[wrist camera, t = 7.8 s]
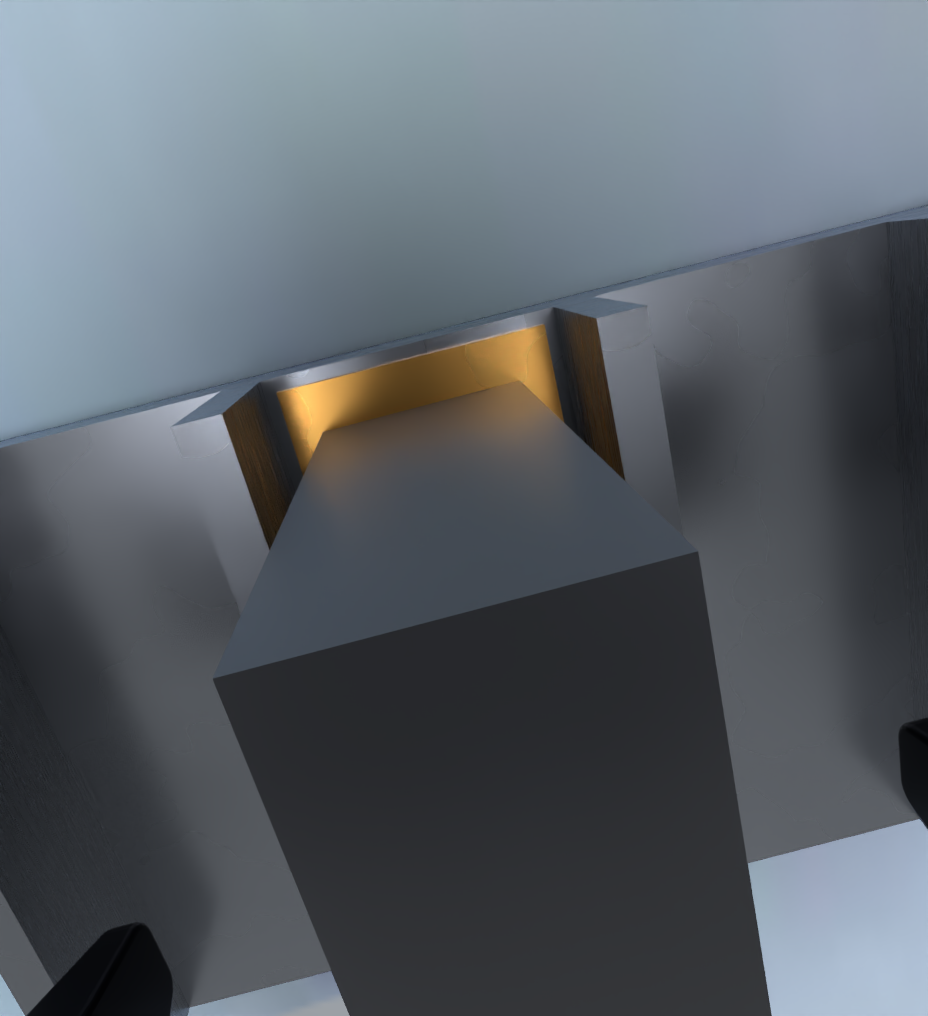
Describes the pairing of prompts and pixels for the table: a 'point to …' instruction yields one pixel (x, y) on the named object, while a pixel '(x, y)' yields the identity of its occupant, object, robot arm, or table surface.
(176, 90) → the table surface
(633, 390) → the rack
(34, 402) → the table surface
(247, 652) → the blanking panel
